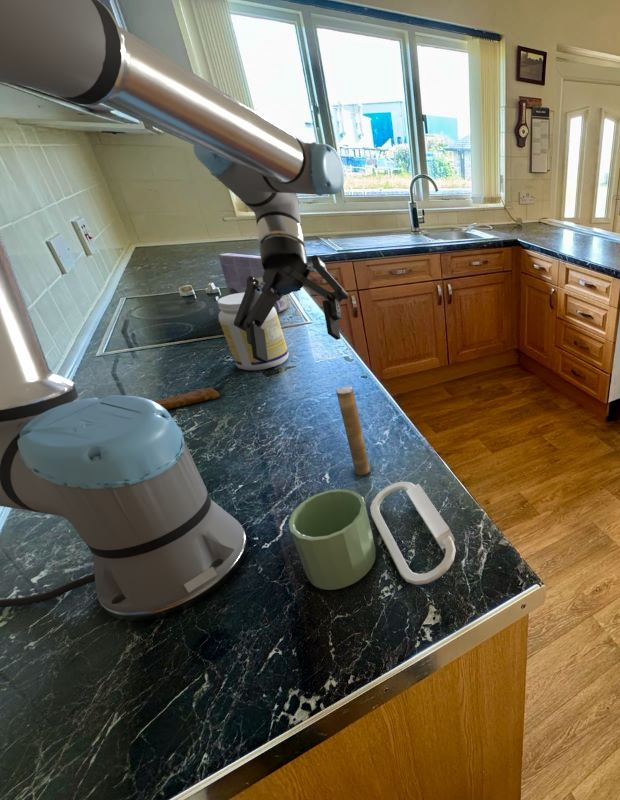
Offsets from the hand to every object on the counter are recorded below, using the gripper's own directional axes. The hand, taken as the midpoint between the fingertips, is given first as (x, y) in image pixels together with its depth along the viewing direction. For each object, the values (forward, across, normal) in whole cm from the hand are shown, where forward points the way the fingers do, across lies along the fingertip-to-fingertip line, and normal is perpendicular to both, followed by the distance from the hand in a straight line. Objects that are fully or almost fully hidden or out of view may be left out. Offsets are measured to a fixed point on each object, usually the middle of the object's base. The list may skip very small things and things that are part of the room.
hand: (297, 348), depth 74 cm
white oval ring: (+36, -14, +2) cm, 39 cm away
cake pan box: (-56, +46, -59) cm, 93 cm away
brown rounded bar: (-5, +38, -14) cm, 41 cm away
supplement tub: (-19, +28, -32) cm, 47 cm away
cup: (+37, -6, +6) cm, 38 cm away
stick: (+23, -4, -6) cm, 24 cm away
